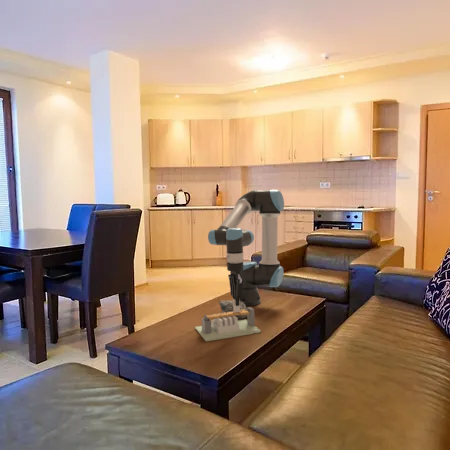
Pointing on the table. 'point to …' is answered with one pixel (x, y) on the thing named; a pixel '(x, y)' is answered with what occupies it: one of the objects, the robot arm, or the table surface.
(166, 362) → the table surface
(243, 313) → the strap
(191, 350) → the table surface
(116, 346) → the table surface
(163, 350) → the table surface
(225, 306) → the rock
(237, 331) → the heatsink board
